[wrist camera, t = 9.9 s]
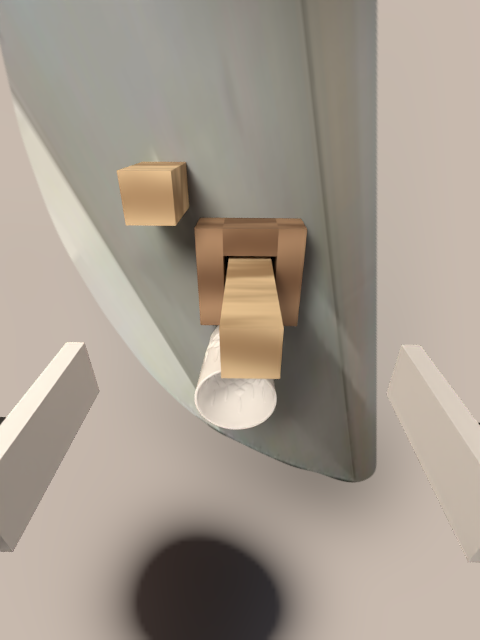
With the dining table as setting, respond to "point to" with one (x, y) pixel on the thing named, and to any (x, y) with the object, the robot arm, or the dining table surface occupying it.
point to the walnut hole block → (249, 240)
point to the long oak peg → (250, 320)
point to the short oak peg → (154, 193)
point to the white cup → (231, 394)
